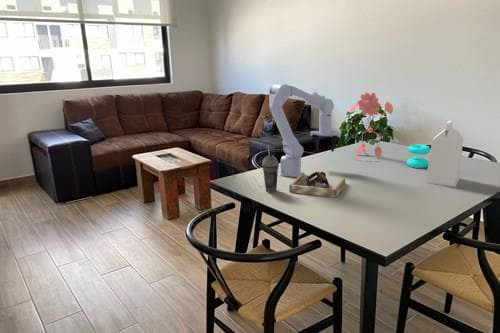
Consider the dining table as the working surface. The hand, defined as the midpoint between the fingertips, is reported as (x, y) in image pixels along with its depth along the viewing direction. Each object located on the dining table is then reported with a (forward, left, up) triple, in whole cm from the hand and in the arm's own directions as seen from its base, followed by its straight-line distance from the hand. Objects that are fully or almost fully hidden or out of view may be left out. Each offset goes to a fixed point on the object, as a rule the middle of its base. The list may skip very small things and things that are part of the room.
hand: (324, 150), depth 188 cm
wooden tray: (+4, -28, -9) cm, 29 cm away
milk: (+53, -2, -10) cm, 54 cm away
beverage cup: (-14, -37, -10) cm, 41 cm away
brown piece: (+4, -27, -10) cm, 29 cm away
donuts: (+42, +18, -10) cm, 47 cm away
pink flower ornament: (+16, +26, -10) cm, 32 cm away
